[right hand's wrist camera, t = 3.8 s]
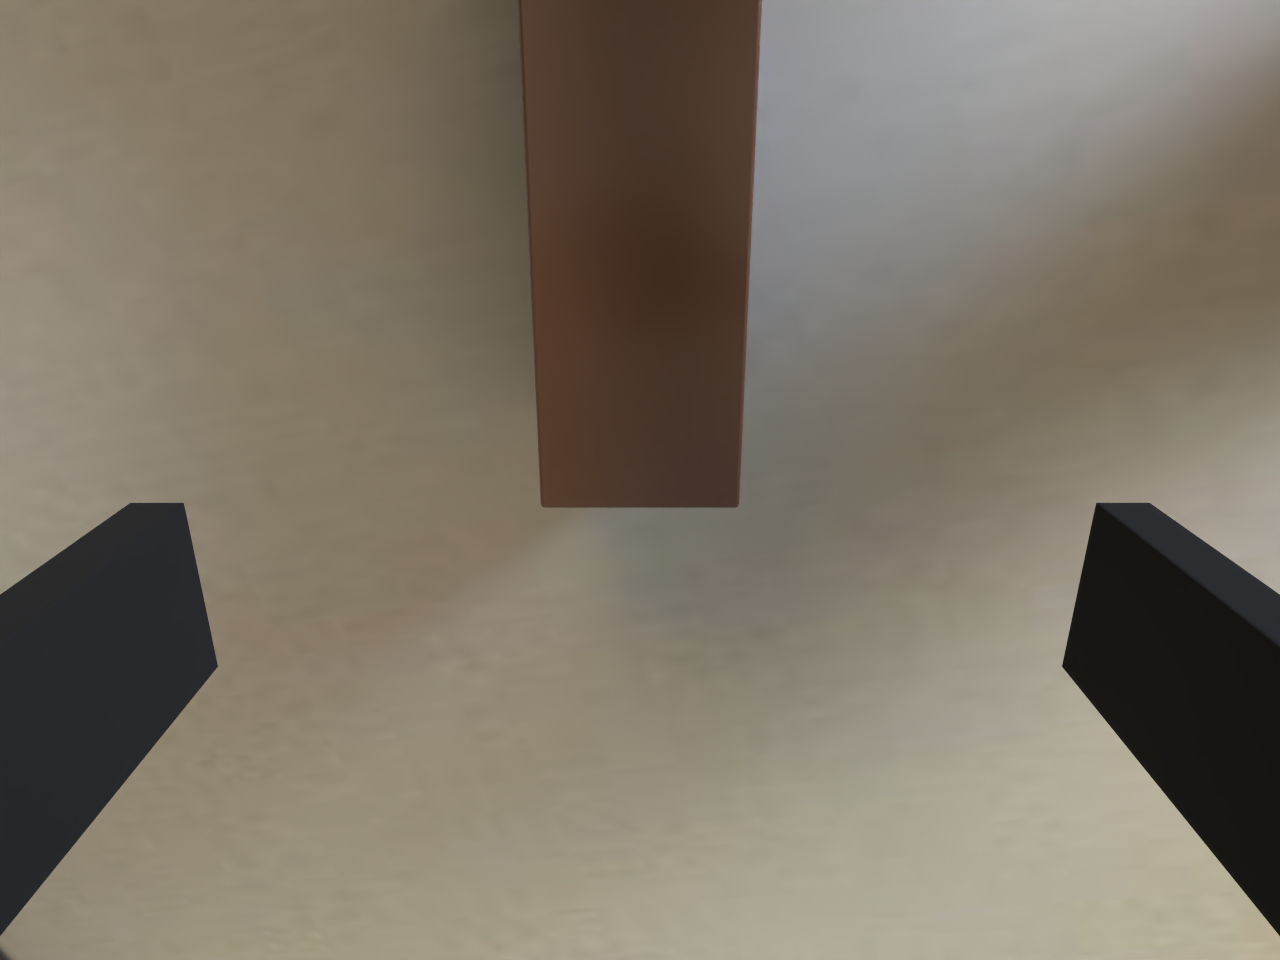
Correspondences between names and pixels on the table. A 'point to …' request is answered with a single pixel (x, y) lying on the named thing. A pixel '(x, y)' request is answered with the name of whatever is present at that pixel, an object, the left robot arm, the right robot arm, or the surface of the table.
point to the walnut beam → (639, 244)
